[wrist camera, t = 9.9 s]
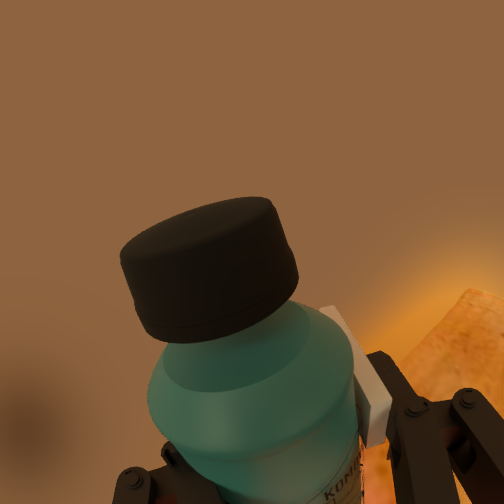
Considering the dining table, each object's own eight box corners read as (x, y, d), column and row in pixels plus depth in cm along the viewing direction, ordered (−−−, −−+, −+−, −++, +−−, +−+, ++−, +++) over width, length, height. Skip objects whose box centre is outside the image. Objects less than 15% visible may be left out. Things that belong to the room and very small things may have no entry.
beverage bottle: (253, 558, 12) (8, 298, 5) (275, 481, 18) (151, 206, 11) (358, 564, 10) (327, 253, 3) (367, 480, 16) (332, 161, 9)
